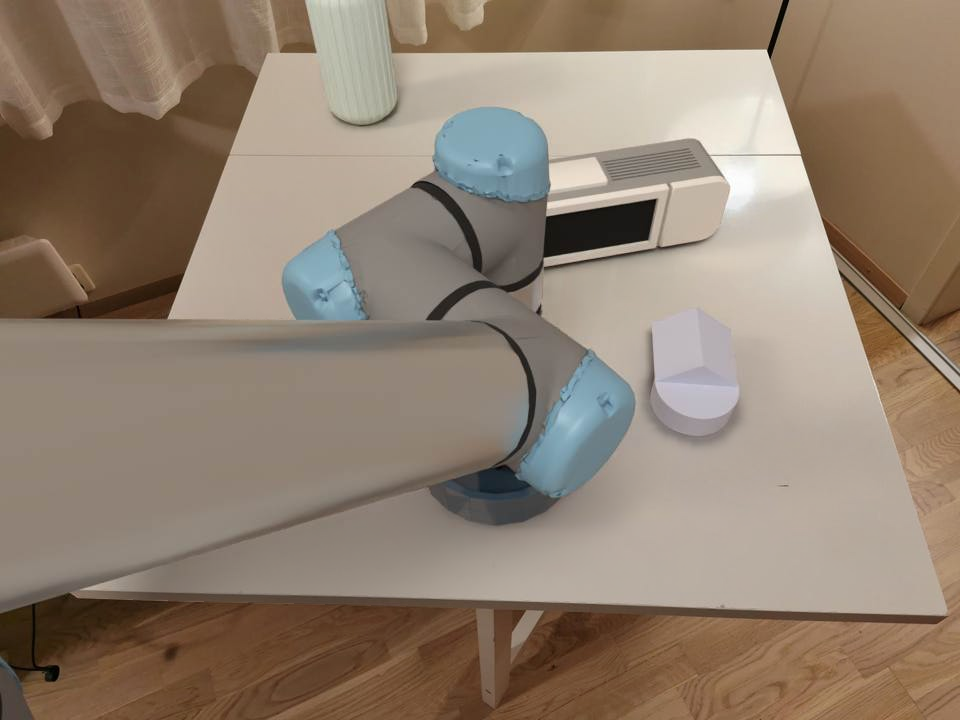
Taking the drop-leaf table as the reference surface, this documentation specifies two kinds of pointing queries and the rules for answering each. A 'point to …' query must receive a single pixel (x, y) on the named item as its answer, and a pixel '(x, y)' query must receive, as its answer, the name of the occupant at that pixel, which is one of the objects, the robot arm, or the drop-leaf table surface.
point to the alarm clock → (632, 200)
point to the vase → (354, 58)
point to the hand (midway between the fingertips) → (497, 450)
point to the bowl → (492, 497)
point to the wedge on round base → (693, 373)
